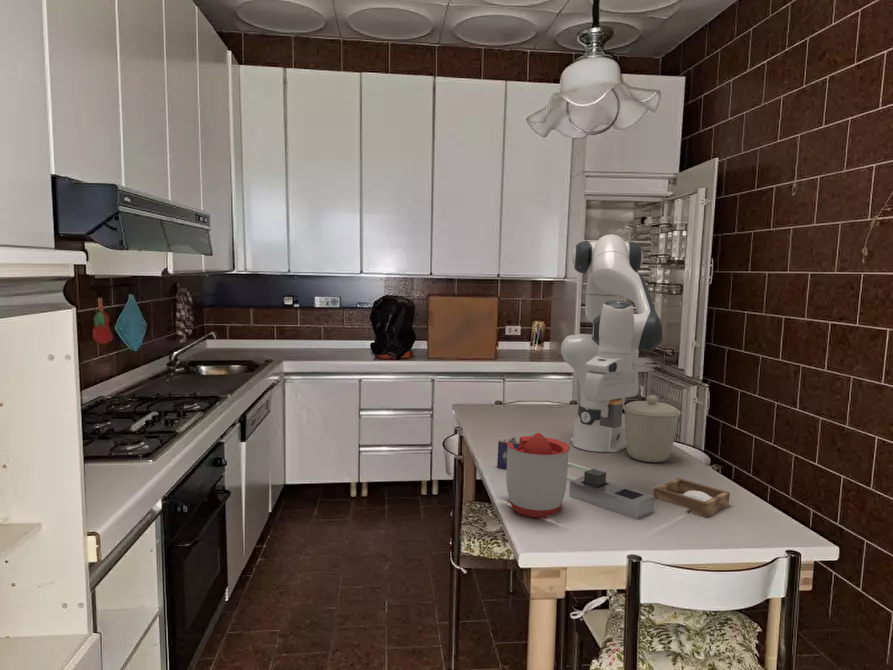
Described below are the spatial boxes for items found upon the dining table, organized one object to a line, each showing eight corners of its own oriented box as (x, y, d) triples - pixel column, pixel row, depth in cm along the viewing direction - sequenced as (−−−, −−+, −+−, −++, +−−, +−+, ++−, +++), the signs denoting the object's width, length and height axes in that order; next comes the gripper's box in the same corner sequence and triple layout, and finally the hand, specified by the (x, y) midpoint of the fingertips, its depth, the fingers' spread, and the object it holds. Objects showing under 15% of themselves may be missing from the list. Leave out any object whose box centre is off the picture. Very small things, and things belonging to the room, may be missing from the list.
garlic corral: (677, 489, 176) (678, 477, 175) (728, 505, 165) (729, 492, 165) (653, 500, 167) (654, 488, 166) (706, 517, 156) (707, 504, 156)
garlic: (718, 507, 164) (719, 493, 164) (708, 514, 159) (709, 500, 159) (688, 499, 170) (689, 485, 169) (677, 505, 165) (678, 491, 164)
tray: (568, 467, 192) (568, 462, 192) (602, 478, 183) (602, 472, 183) (544, 475, 184) (544, 469, 184) (578, 487, 175) (578, 480, 175)
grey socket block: (586, 492, 171) (587, 475, 170) (653, 515, 156) (655, 496, 156) (568, 499, 166) (569, 481, 165) (637, 523, 151) (638, 503, 151)
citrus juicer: (519, 492, 170) (523, 420, 167) (577, 509, 159) (581, 432, 157) (485, 508, 158) (489, 430, 155) (545, 528, 147) (550, 445, 144)
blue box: (528, 470, 188) (529, 436, 187) (527, 473, 185) (528, 438, 184) (497, 467, 190) (499, 433, 189) (496, 470, 187) (497, 435, 186)
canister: (681, 469, 195) (686, 403, 193) (621, 463, 198) (625, 398, 196) (672, 453, 212) (677, 392, 210) (617, 448, 216) (621, 388, 214)
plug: (608, 423, 166) (609, 397, 166) (621, 426, 163) (623, 400, 163) (599, 425, 164) (601, 398, 163) (612, 428, 161) (614, 401, 160)
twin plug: (591, 494, 167) (593, 468, 167) (604, 498, 164) (606, 472, 164) (583, 497, 165) (584, 471, 164) (595, 501, 162) (597, 475, 161)
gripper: (625, 360, 172) (622, 409, 173) (581, 363, 158) (578, 417, 159) (646, 362, 167) (642, 413, 168) (602, 366, 153) (599, 422, 154)
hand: (611, 415), depth 163 cm, fingers closed on plug, 4 cm apart
